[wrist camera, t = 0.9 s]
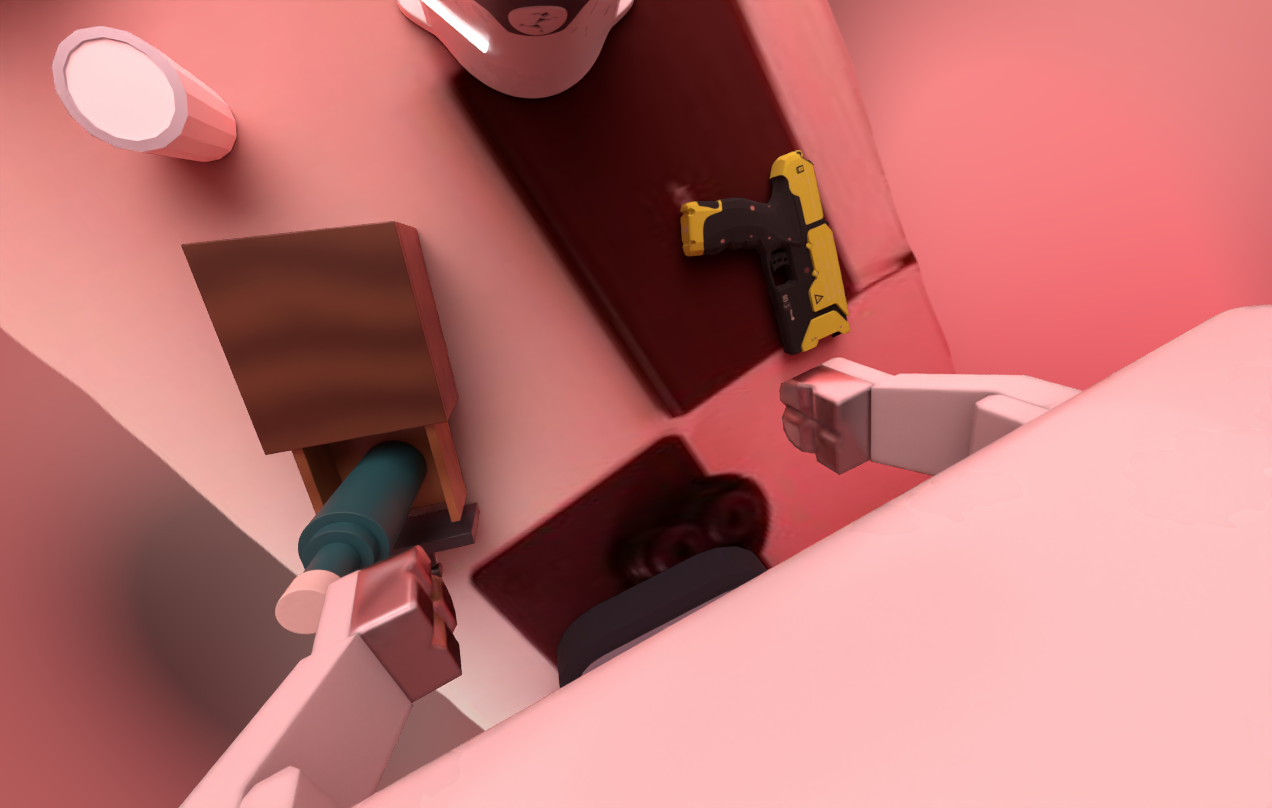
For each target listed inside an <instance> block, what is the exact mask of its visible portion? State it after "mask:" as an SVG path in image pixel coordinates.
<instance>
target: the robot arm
mask: <svg viewBox="0 0 1272 808" xmlns="http://www.w3.org/2000/svg"><path fill="white" fill-rule="evenodd" d="M633 2H634V0H397V3H398V6H399V8H400V10H401V11H402V13H403V14H404V15H405V16H406V17H407V18H409V19H410V20H411V21H413V22H414V23H415V24H417V25H418V26H420V27H422V28H423V29H425V30H427V31H428V32H430V33H432V34H434V35H435V36H436V37H437V38H438V39H439V40H440V41H441V42H442V43H443V44H444V45H445V46H446V47H447V49H448V50H449V51H450V52H451V53H452V55H453V56H454V57H455V58H456V60H457V61H458V62H459V63H460V64H461V65H462V66H463V67H464V68H465V69H466V70H467V71H468V72H469V73H470V74H472V75H473V76H474V77H475V78H477V79H478V80H479V81H481V82H482V83H484V84H485V85H487V86H489V87H491V88H493V89H495V90H497V91H499V92H502V93H504V94H507V95H511V96H515V97H521V98H544V97H549V96H552V95H556V94H558V93H561V92H563V91H565V90H567V89H569V88H570V87H572V86H573V85H575V84H576V83H577V82H578V81H580V80H581V79H582V78H583V77H584V76H585V75H586V74H587V72H588V71H589V70H590V69H591V67H592V66H593V64H594V63H595V61H596V59H597V58H598V56H599V54H600V51H601V49H602V46H603V44H604V42H605V39H606V37H607V35H608V33H609V31H610V29H611V28H612V27H613V26H614V25H615V24H616V23H617V22H618V21H619V20H620V19H621V18H623V17H624V15H625V14H626V13H627V12H628V11H629V10H630V8H631V7H632V5H633ZM779 392H780V401H781V402H782V403H783V404H785V405H786V408H785V411H784V413H783V416H782V422H783V429H784V431H785V433H786V435H787V437H788V439H789V441H790V442H791V443H792V444H793V445H794V446H795V447H796V448H798V449H799V450H801V451H802V452H808V453H815V454H816V458H817V461H818V462H820V463H821V464H823V465H825V466H826V467H828V468H829V469H831V470H833V471H834V472H836V473H837V474H839V475H840V474H842V473H844V472H846V471H848V470H850V469H852V468H855V467H857V466H859V465H861V464H863V463H865V462H867V461H869V460H871V462H876V463H880V464H884V465H889V466H893V467H898V468H902V469H906V470H911V471H915V472H919V473H924V474H928V475H933V477H931V478H930V479H928V480H926V481H924V482H923V483H921V484H919V485H917V486H916V487H914V488H912V489H910V490H908V491H907V492H905V493H903V494H901V495H900V496H898V497H896V498H894V499H893V500H891V501H889V502H887V503H885V504H884V505H882V506H880V507H878V508H877V509H875V510H873V511H871V512H870V513H868V514H866V515H864V516H863V517H861V518H859V519H857V520H855V521H854V522H852V523H850V524H848V525H847V526H845V527H843V528H841V529H840V530H838V531H836V532H834V533H832V534H831V535H829V536H827V537H825V538H824V539H822V540H820V541H818V542H817V543H815V544H813V545H811V546H809V547H808V548H806V549H804V550H802V551H801V552H799V553H797V554H795V555H794V556H792V557H790V558H788V559H787V560H785V561H783V562H781V563H780V564H778V565H776V566H774V567H773V568H771V569H769V570H767V571H766V572H764V573H762V574H760V575H759V576H757V577H755V578H753V579H752V580H750V581H748V582H746V583H745V584H743V585H741V586H739V587H738V588H736V589H734V590H732V591H731V592H729V593H727V594H725V595H723V596H722V597H720V598H718V599H716V600H715V601H713V602H711V603H709V604H708V605H706V606H704V607H702V608H701V609H699V610H697V611H695V612H694V613H692V614H690V615H688V616H687V617H685V618H683V619H681V620H680V621H678V622H676V623H674V624H673V625H671V626H669V627H667V628H666V629H664V630H662V631H660V632H659V633H657V634H655V635H653V636H652V637H650V638H648V639H646V640H644V641H643V642H641V643H639V644H637V645H636V646H634V647H632V648H630V649H629V650H627V651H625V652H623V653H622V654H620V655H618V656H616V657H615V658H613V659H611V660H609V661H608V662H606V663H604V664H602V665H601V666H599V667H597V668H595V669H593V670H592V671H590V672H588V673H586V674H585V675H583V676H581V677H579V678H578V679H576V680H574V681H572V682H571V683H569V684H567V685H565V686H564V687H562V688H560V689H558V690H557V691H555V692H553V693H551V694H549V695H548V696H546V697H544V698H542V699H541V700H539V701H537V702H535V703H534V704H532V705H530V706H528V707H527V708H525V709H523V710H521V711H520V712H518V713H516V714H514V715H513V716H511V717H509V718H507V719H505V720H504V721H502V722H500V723H498V724H497V725H495V726H493V727H491V728H490V729H488V730H486V731H485V732H483V733H481V734H479V735H477V736H476V737H474V738H472V739H470V740H469V741H467V742H465V743H463V744H462V745H460V746H458V747H456V748H455V749H453V750H451V751H449V752H447V753H446V754H444V755H442V756H441V757H439V758H437V759H435V760H433V761H432V762H430V763H428V764H426V765H425V766H423V767H421V768H419V769H418V770H416V771H414V772H412V773H410V774H409V775H407V776H405V777H403V778H402V779H400V780H399V781H397V782H395V783H393V784H391V785H389V786H388V787H386V788H384V789H382V790H381V791H379V792H377V793H375V791H376V789H377V786H378V784H379V782H380V780H381V777H382V775H383V773H384V770H385V768H386V766H387V764H388V761H389V759H390V757H391V755H392V752H393V750H394V748H395V746H396V743H397V741H398V739H399V736H400V734H401V732H402V730H403V728H404V725H405V723H406V721H407V718H408V716H409V714H410V711H411V709H412V707H413V704H412V703H413V702H414V701H416V700H418V699H420V698H421V697H423V696H425V695H427V694H429V693H430V692H432V691H434V690H436V689H438V688H439V687H441V686H443V685H445V684H446V683H448V682H450V681H452V680H454V679H455V678H457V677H459V676H461V675H462V670H461V660H460V649H459V643H458V642H457V640H456V638H455V637H454V635H453V634H452V633H453V631H454V629H455V628H456V626H457V620H456V613H455V609H454V606H453V602H452V599H451V596H450V594H449V592H448V589H447V587H446V585H445V584H444V582H443V580H442V579H441V577H438V576H435V575H432V574H431V560H430V559H429V557H428V556H427V554H426V552H425V551H424V549H423V548H422V547H420V546H419V545H416V546H414V547H412V548H409V549H407V550H405V551H402V552H400V553H397V554H395V555H393V556H390V557H388V558H386V559H383V560H381V561H379V562H376V563H374V564H372V565H369V566H367V567H364V568H362V569H361V570H357V571H355V572H353V573H350V574H348V575H346V576H344V577H342V578H339V579H337V580H335V581H333V582H332V583H331V584H329V585H328V587H327V590H326V594H325V598H324V602H323V607H322V611H321V615H320V619H319V624H318V628H317V632H316V637H315V641H314V645H313V649H312V654H311V655H310V656H308V657H306V658H304V659H302V660H301V661H300V662H299V663H298V664H297V666H296V667H295V668H294V669H293V670H292V672H291V673H290V674H289V675H288V676H287V678H286V679H285V680H284V681H283V682H282V684H281V685H280V686H279V687H278V689H277V690H276V691H275V692H274V694H273V695H272V696H271V697H270V698H269V699H268V701H267V702H266V703H265V704H264V706H263V707H262V708H261V709H260V710H259V712H258V713H257V714H256V715H255V716H254V718H253V719H252V720H251V721H250V722H249V724H248V725H247V726H246V727H245V729H244V730H243V731H242V732H241V733H240V735H239V736H238V737H237V738H236V739H235V740H234V742H233V743H232V744H231V745H230V747H229V748H228V749H227V750H226V751H225V753H224V754H223V755H222V756H221V757H220V759H219V760H218V761H217V762H216V763H215V765H214V766H213V767H212V768H211V770H210V771H209V772H208V773H207V774H206V776H205V777H204V778H203V779H202V780H201V782H200V783H199V784H198V785H197V786H196V788H195V789H194V790H193V791H192V792H191V794H190V795H189V796H188V797H187V799H186V800H185V801H184V802H183V803H182V805H181V806H180V807H179V808H1272V305H1257V306H1249V307H1239V308H1235V309H1231V310H1228V311H1225V312H1223V313H1220V314H1218V315H1216V316H1214V317H1213V318H1210V319H1209V320H1207V321H1205V322H1203V323H1202V324H1200V325H1198V326H1197V327H1195V328H1193V329H1191V330H1190V331H1188V332H1186V333H1184V334H1183V335H1181V336H1179V337H1177V338H1176V339H1174V340H1172V341H1170V342H1168V343H1167V344H1165V345H1164V346H1161V347H1160V348H1158V349H1156V350H1154V351H1153V352H1151V353H1149V354H1147V355H1146V356H1144V357H1142V358H1140V359H1139V360H1137V361H1135V362H1133V363H1132V364H1130V365H1128V366H1126V367H1125V368H1123V369H1121V370H1119V371H1118V372H1116V373H1114V374H1112V375H1111V376H1109V377H1107V378H1105V379H1104V380H1102V381H1100V382H1098V383H1096V384H1095V385H1093V386H1091V387H1089V388H1088V389H1086V390H1084V391H1081V390H1077V389H1074V388H1070V387H1066V386H1062V385H1059V384H1055V383H1052V382H1048V381H1044V380H1041V379H1037V378H1034V377H1030V376H1027V375H972V374H898V375H895V376H893V375H890V374H887V373H885V372H882V371H879V370H876V369H873V368H870V367H867V366H864V365H861V364H859V363H856V362H853V361H850V360H847V359H844V358H841V357H839V358H833V359H830V360H828V361H826V362H824V363H822V364H820V365H818V366H817V367H815V368H813V369H811V370H809V371H806V372H804V373H802V374H800V375H798V376H796V377H794V378H792V379H790V380H787V381H785V382H783V383H781V386H780V390H779ZM374 793H375V794H374Z"/></svg>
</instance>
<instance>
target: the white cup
mask: <svg viewBox="0 0 1272 808" xmlns="http://www.w3.org/2000/svg"><path fill="white" fill-rule="evenodd" d="M52 71H53V77H54V84H55V90H56V92H57V94H58V96H59V97H60V99H61V101H62V103H63V104H64V106H65V108H66V110H67V111H68V113H69V115H70V116H71V117H72V118H74V119H75V120H76V121H77V122H78V123H79V124H80V125H81V126H82V127H83V128H84V129H85V130H86V131H87V132H88V133H90V134H91V135H92V136H94V137H96V138H98V139H100V140H102V141H104V142H106V143H108V144H110V145H112V146H114V147H116V148H121V149H126V150H132V151H138V152H144V153H151V154H157V155H163V156H169V157H175V158H182V159H188V160H194V161H200V162H209V161H214V160H218V159H221V158H222V157H224V156H225V155H226V154H227V153H229V152H230V151H231V150H232V147H233V145H234V143H235V140H236V138H237V134H236V121H235V119H234V117H233V115H232V113H231V110H230V108H229V106H228V105H227V104H226V103H225V102H224V100H223V99H222V98H221V97H220V96H219V95H218V94H217V93H216V92H215V91H214V90H212V89H211V88H210V87H208V86H207V85H206V84H204V83H203V82H201V81H200V80H199V79H197V78H196V77H195V76H193V75H192V74H191V73H189V72H188V71H187V70H185V69H184V68H182V67H181V66H180V65H178V64H177V63H176V62H174V61H173V60H172V59H170V58H169V57H168V56H166V55H165V54H163V53H162V52H161V51H159V50H158V49H157V48H155V47H154V46H152V45H150V44H149V43H147V42H145V41H144V40H142V39H140V38H138V37H137V36H135V35H133V34H132V33H130V32H128V31H123V30H119V29H114V28H109V27H105V26H96V27H90V28H84V29H79V30H76V31H74V32H73V33H72V34H71V35H69V36H68V37H67V38H66V39H64V40H63V41H62V42H61V43H59V45H58V48H57V51H56V54H55V57H54V60H53V63H52Z"/></svg>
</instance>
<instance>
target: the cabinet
mask: <svg viewBox="0 0 1272 808" xmlns="http://www.w3.org/2000/svg"><path fill="white" fill-rule="evenodd" d="M181 246H182V249H183V251H184V254H185V256H186V259H187V261H188V263H189V266H190V268H191V271H192V273H193V276H194V278H195V281H196V283H197V286H198V288H199V291H200V293H201V296H202V298H203V301H204V303H205V306H206V308H207V311H208V313H209V316H210V318H211V321H212V323H213V326H214V328H215V331H216V333H217V336H218V338H219V341H220V343H221V346H222V348H223V351H224V353H225V356H226V358H227V361H228V363H229V366H230V368H231V370H232V373H233V375H234V378H235V380H236V383H237V385H238V388H239V390H240V393H241V395H242V398H243V400H244V403H245V405H246V408H247V410H248V413H249V415H250V418H251V420H252V423H253V425H254V428H255V430H256V433H257V435H258V438H259V440H260V443H261V445H262V448H263V450H264V453H265V455H268V454H274V453H279V452H285V451H290V450H296V449H301V448H306V447H312V446H317V445H323V444H328V443H334V442H339V441H345V440H350V439H356V438H361V437H366V436H372V435H377V434H383V433H388V432H394V431H399V430H405V429H410V428H415V427H421V426H426V425H432V424H437V423H443V422H447V420H448V419H449V417H450V414H451V412H452V410H453V408H454V406H455V404H456V402H457V400H458V393H457V389H456V385H455V381H454V377H453V373H452V369H451V365H450V361H449V357H448V353H447V349H446V345H445V341H444V337H443V333H442V329H441V325H440V321H439V317H438V313H437V309H436V306H435V302H434V298H433V294H432V290H431V286H430V282H429V278H428V274H427V270H426V266H425V262H424V258H423V254H422V250H421V246H420V242H419V238H418V234H417V230H416V228H414V227H411V226H408V225H404V224H401V223H398V222H395V221H389V222H380V223H371V224H362V225H353V226H344V227H335V228H326V229H317V230H308V231H298V232H289V233H280V234H271V235H262V236H253V237H244V238H235V239H226V240H216V241H207V242H198V243H189V244H182V245H181Z"/></svg>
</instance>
